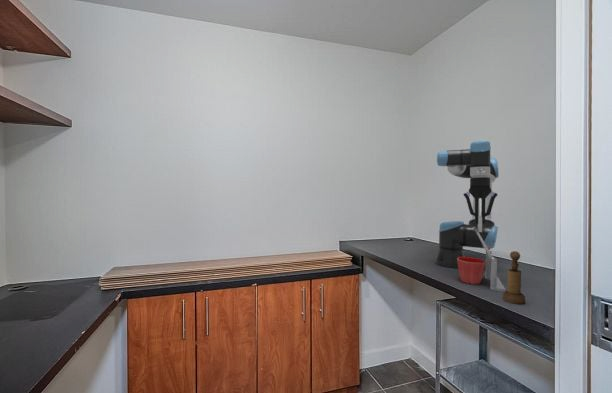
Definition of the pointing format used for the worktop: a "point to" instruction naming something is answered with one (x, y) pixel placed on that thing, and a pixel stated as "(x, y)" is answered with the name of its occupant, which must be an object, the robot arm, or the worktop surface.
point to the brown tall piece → (514, 282)
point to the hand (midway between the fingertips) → (479, 231)
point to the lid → (483, 243)
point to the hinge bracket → (493, 274)
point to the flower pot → (470, 269)
